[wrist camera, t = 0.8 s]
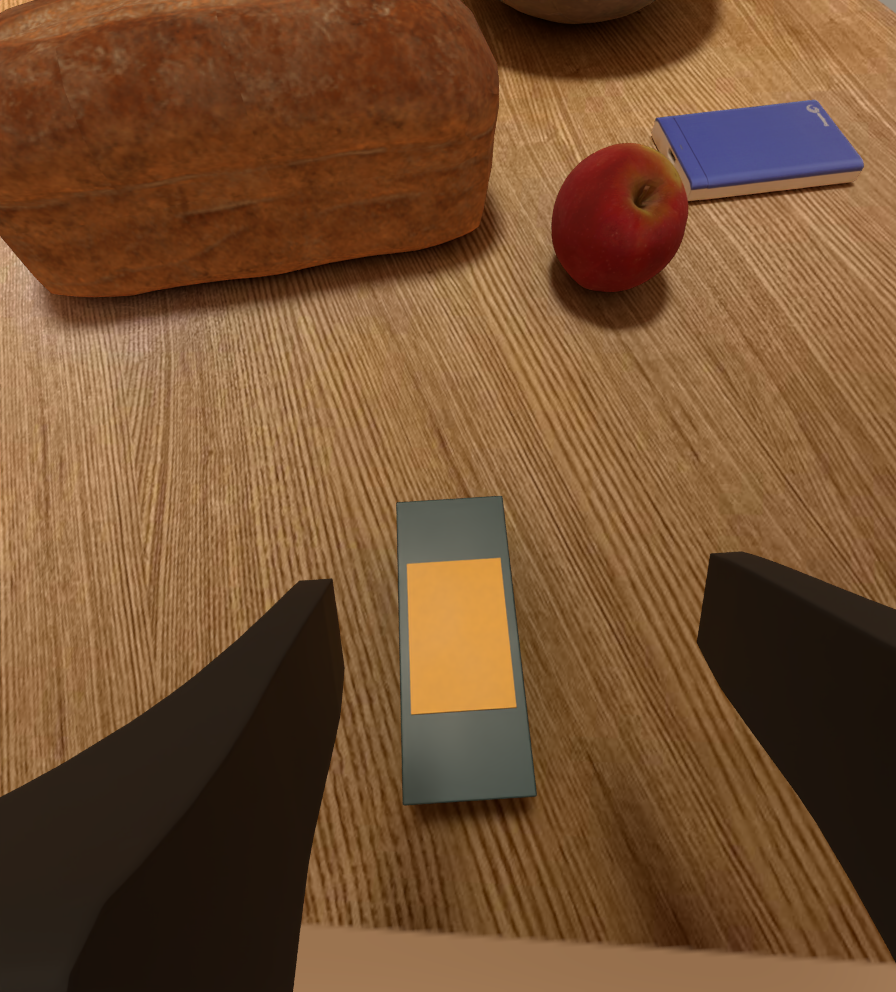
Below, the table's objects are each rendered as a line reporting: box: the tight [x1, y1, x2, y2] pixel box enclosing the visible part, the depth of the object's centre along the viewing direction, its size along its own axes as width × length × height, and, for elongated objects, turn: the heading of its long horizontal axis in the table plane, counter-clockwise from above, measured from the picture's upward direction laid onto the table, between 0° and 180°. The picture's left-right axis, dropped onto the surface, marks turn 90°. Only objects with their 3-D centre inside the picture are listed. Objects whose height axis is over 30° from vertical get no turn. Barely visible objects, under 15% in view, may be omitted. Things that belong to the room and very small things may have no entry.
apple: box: [551, 143, 688, 292], centre depth 33 cm, size 8×8×8 cm
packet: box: [396, 496, 537, 805], centre depth 24 cm, size 12×5×4 cm, turn 3°
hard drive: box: [651, 100, 864, 201], centre depth 41 cm, size 2×8×12 cm
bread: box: [0, 0, 499, 297], centre depth 33 cm, size 12×31×14 cm, turn 102°
